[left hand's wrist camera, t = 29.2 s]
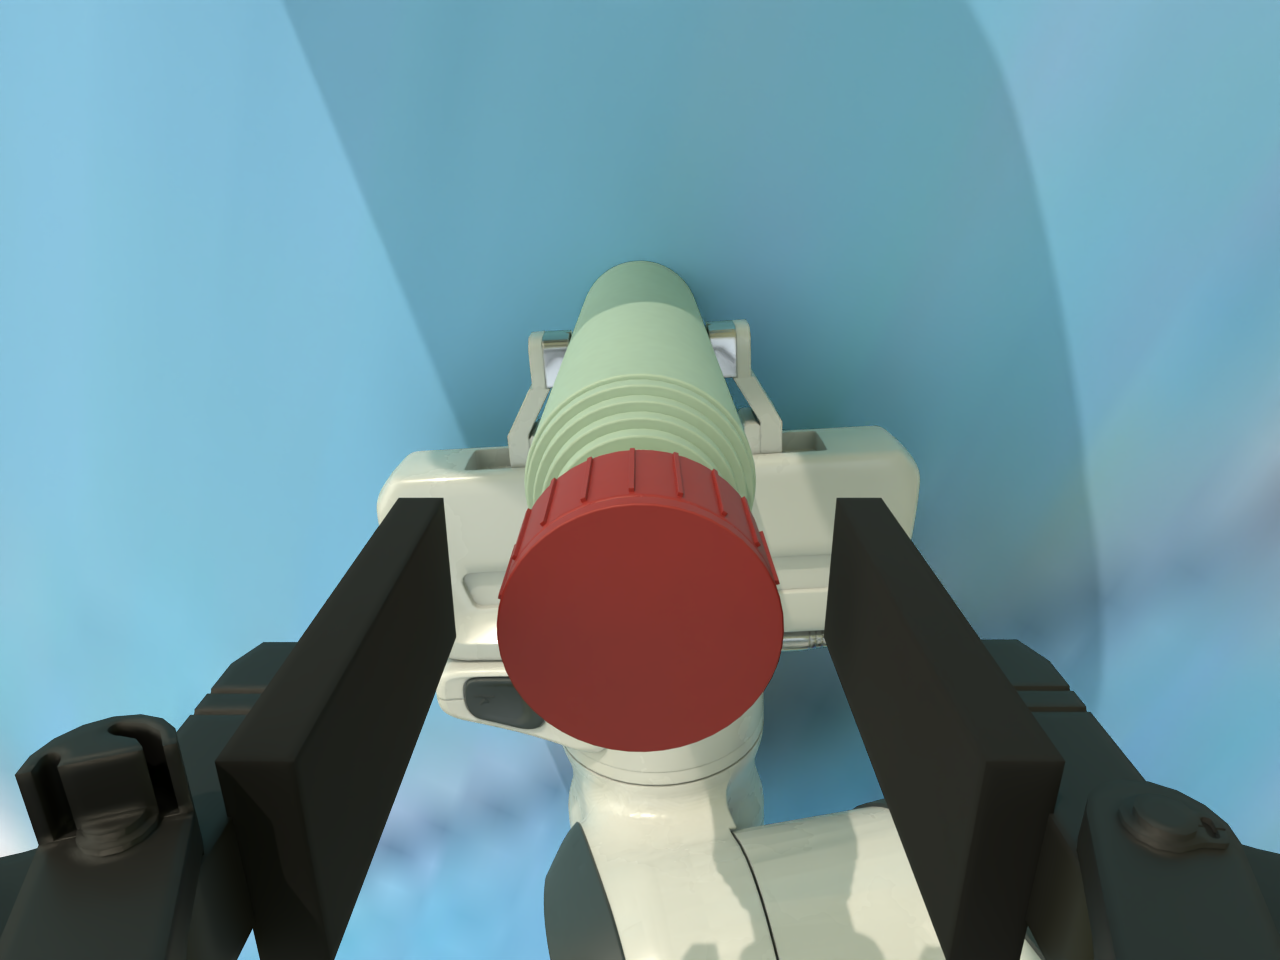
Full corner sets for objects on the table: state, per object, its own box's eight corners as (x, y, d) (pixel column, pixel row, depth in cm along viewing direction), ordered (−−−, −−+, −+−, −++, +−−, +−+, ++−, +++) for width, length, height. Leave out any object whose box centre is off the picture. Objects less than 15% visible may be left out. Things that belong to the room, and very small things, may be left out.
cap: (807, 494, 14) (837, 557, 12) (709, 698, 16) (721, 787, 14) (561, 409, 14) (546, 458, 11) (485, 628, 15) (459, 709, 13)
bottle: (676, 391, 37) (734, 764, 15) (568, 357, 37) (451, 690, 14) (714, 282, 36) (847, 512, 13) (601, 244, 35) (529, 415, 12)
